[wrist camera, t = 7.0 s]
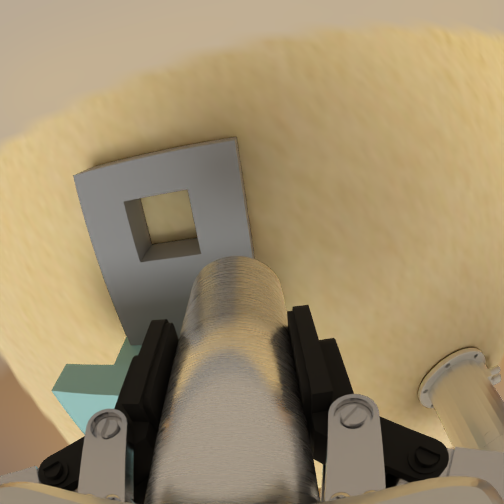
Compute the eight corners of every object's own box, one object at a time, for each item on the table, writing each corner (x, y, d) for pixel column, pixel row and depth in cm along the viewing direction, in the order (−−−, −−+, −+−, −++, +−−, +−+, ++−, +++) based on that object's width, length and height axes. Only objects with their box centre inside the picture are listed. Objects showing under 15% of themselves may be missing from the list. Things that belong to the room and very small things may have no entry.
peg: (278, 250, 13) (346, 592, 2) (285, 327, 15) (325, 596, 4) (183, 261, 13) (94, 579, 2) (201, 336, 15) (169, 597, 4)
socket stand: (247, 135, 27) (248, 169, 10) (273, 324, 35) (290, 471, 18) (84, 169, 27) (-51, 240, 11) (138, 337, 36) (90, 466, 19)
